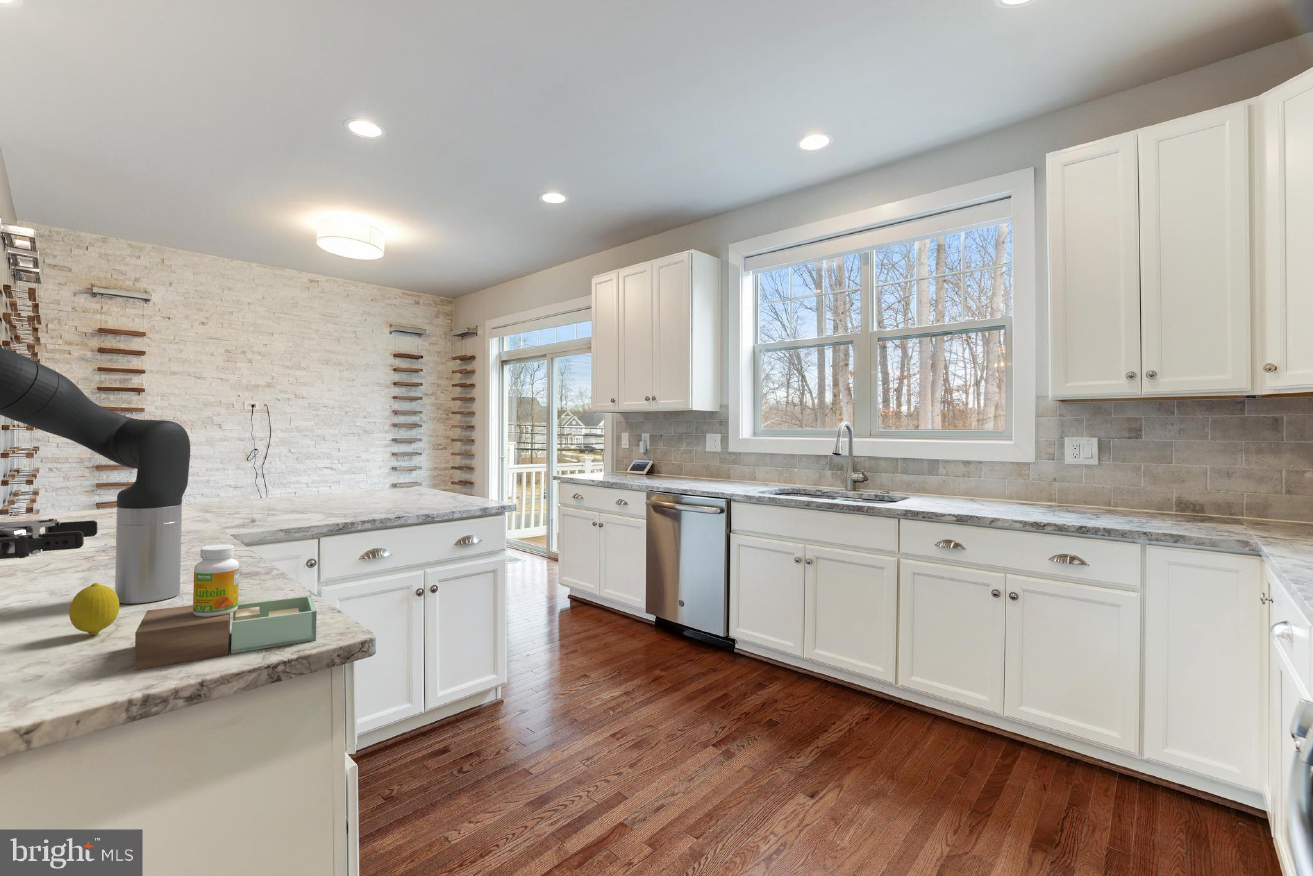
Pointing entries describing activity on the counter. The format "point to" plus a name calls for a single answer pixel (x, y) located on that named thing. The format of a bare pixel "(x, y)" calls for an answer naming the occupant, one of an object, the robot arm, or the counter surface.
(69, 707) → the counter surface
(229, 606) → the supplement bottle
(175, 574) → the robot arm
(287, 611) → the maple block
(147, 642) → the walnut block
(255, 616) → the maple block
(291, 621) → the tray
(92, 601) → the lemon
